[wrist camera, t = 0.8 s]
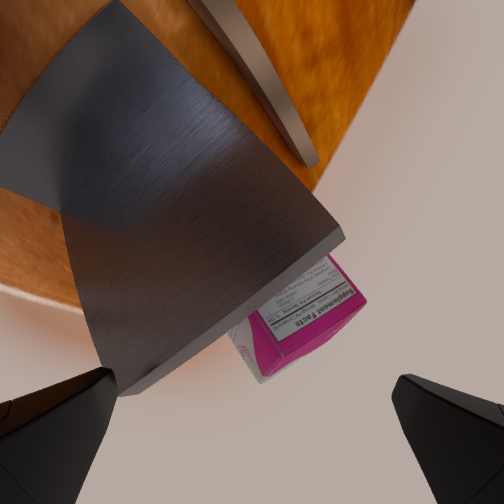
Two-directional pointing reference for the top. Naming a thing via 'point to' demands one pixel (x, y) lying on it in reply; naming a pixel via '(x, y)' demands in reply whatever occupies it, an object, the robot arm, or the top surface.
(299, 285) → the supplement box
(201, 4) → the rail
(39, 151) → the bookend
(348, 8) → the top surface
